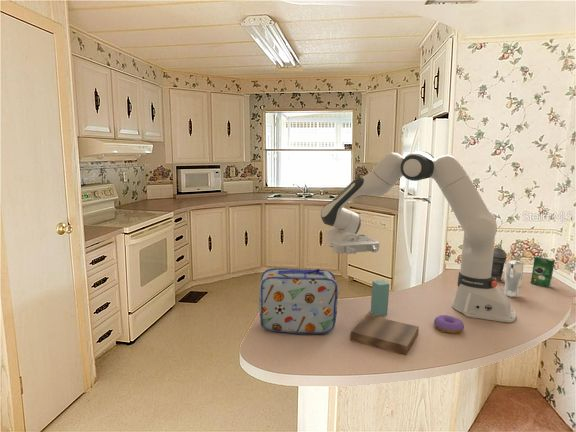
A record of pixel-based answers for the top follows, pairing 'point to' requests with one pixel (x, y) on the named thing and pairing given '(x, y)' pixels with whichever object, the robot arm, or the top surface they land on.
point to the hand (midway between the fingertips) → (365, 251)
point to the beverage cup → (498, 263)
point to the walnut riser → (385, 334)
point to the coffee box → (542, 271)
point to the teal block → (379, 297)
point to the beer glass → (512, 277)
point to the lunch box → (298, 300)
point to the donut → (449, 324)
